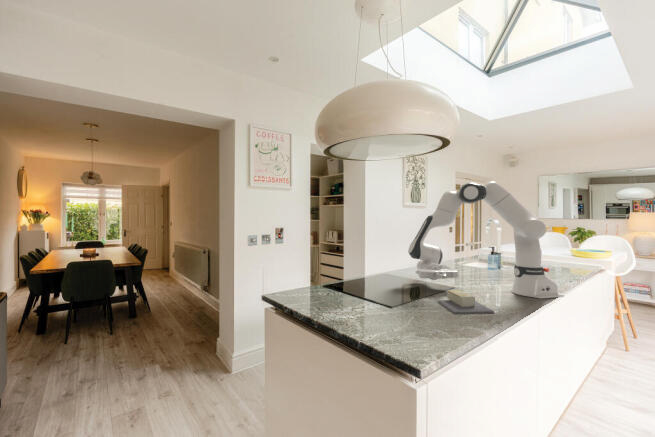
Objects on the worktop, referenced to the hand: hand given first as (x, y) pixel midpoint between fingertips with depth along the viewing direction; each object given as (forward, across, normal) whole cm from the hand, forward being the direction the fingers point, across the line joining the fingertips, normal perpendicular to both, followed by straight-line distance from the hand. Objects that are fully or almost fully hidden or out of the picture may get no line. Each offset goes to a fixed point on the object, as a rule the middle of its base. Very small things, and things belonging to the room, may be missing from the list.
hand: (444, 277), depth 150 cm
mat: (+19, +1, +9) cm, 21 cm away
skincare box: (+8, 0, +6) cm, 11 cm away
